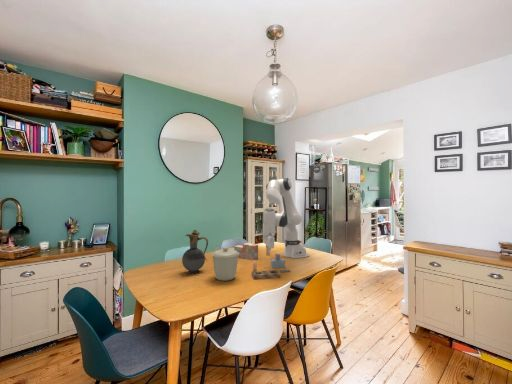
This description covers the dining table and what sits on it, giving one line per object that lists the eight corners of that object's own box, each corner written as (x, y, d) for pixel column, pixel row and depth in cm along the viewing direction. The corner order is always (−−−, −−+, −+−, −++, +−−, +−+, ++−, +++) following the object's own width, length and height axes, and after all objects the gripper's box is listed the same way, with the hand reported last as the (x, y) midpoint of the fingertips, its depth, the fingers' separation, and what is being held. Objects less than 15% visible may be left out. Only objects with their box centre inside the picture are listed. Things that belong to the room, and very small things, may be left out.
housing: (283, 265, 189) (283, 252, 189) (285, 267, 184) (285, 254, 184) (270, 266, 187) (270, 253, 187) (272, 268, 182) (272, 255, 182)
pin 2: (269, 254, 171) (269, 244, 171) (270, 255, 169) (270, 245, 169) (265, 254, 171) (266, 244, 171) (266, 255, 168) (266, 245, 168)
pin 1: (256, 270, 179) (256, 260, 179) (256, 271, 176) (256, 261, 176) (252, 270, 178) (252, 260, 178) (253, 271, 176) (253, 261, 175)
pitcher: (180, 272, 174) (180, 230, 173) (205, 267, 185) (204, 227, 185) (185, 276, 165) (185, 232, 165) (211, 271, 176) (211, 229, 176)
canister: (206, 277, 163) (206, 246, 163) (229, 271, 175) (229, 242, 175) (221, 285, 149) (221, 251, 149) (244, 278, 161) (244, 246, 161)
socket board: (276, 273, 171) (276, 269, 171) (280, 277, 163) (280, 273, 163) (251, 275, 167) (251, 271, 167) (253, 279, 160) (253, 275, 160)
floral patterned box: (234, 256, 215) (234, 242, 215) (238, 255, 220) (238, 241, 220) (254, 260, 203) (254, 245, 203) (258, 258, 209) (258, 244, 209)
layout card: (289, 270, 177) (289, 268, 177) (290, 271, 174) (290, 270, 174) (279, 271, 176) (279, 269, 176) (281, 272, 173) (281, 270, 173)
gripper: (276, 234, 160) (276, 255, 160) (270, 229, 180) (269, 248, 180) (267, 234, 159) (266, 255, 159) (261, 229, 179) (261, 248, 179)
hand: (268, 251), depth 170 cm, fingers closed on pin 2, 3 cm apart
